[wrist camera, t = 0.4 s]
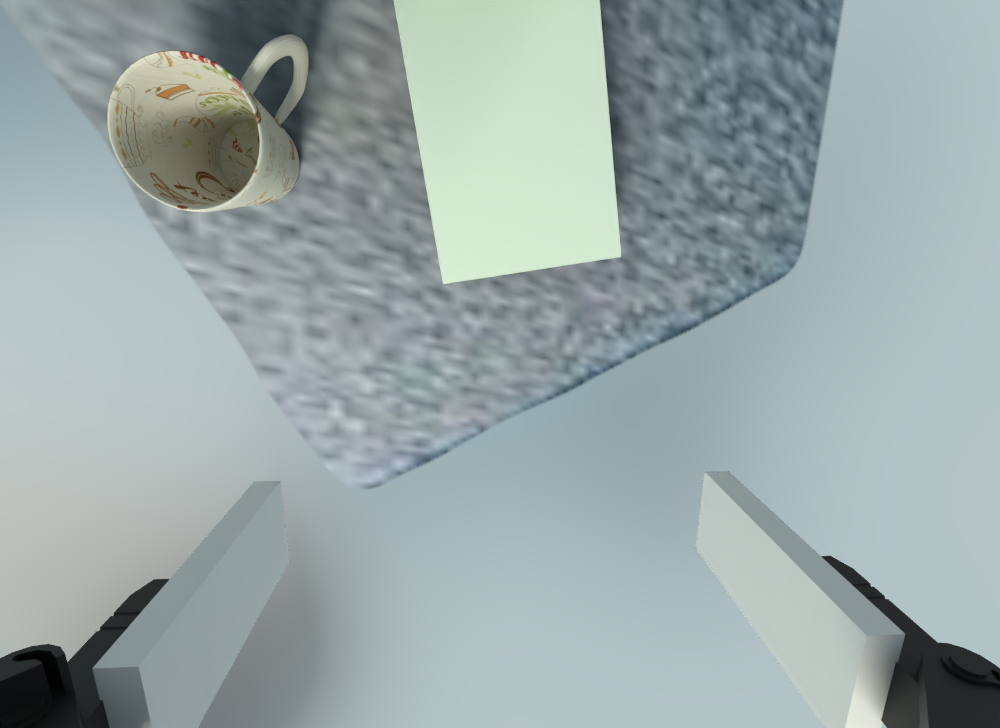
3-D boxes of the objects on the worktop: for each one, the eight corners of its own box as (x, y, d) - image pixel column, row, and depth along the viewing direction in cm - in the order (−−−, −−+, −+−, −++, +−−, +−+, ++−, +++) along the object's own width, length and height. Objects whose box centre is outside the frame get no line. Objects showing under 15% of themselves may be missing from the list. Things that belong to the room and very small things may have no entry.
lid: (383, -63, 29) (375, -90, 26) (587, -91, 29) (598, -120, 27) (443, 283, 34) (441, 286, 31) (617, 256, 34) (628, 257, 32)
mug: (180, 171, 37) (78, 147, 28) (269, 22, 35) (193, -61, 26) (278, 240, 39) (214, 241, 29) (369, 102, 37) (332, 53, 27)
